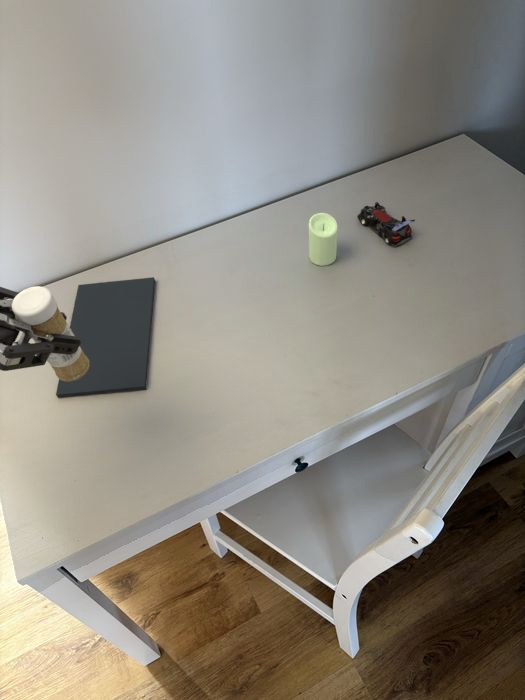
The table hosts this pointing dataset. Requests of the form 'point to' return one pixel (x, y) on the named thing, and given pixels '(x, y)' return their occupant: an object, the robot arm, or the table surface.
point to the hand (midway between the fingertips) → (69, 333)
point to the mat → (112, 336)
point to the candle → (322, 239)
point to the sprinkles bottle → (50, 329)
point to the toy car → (385, 224)
